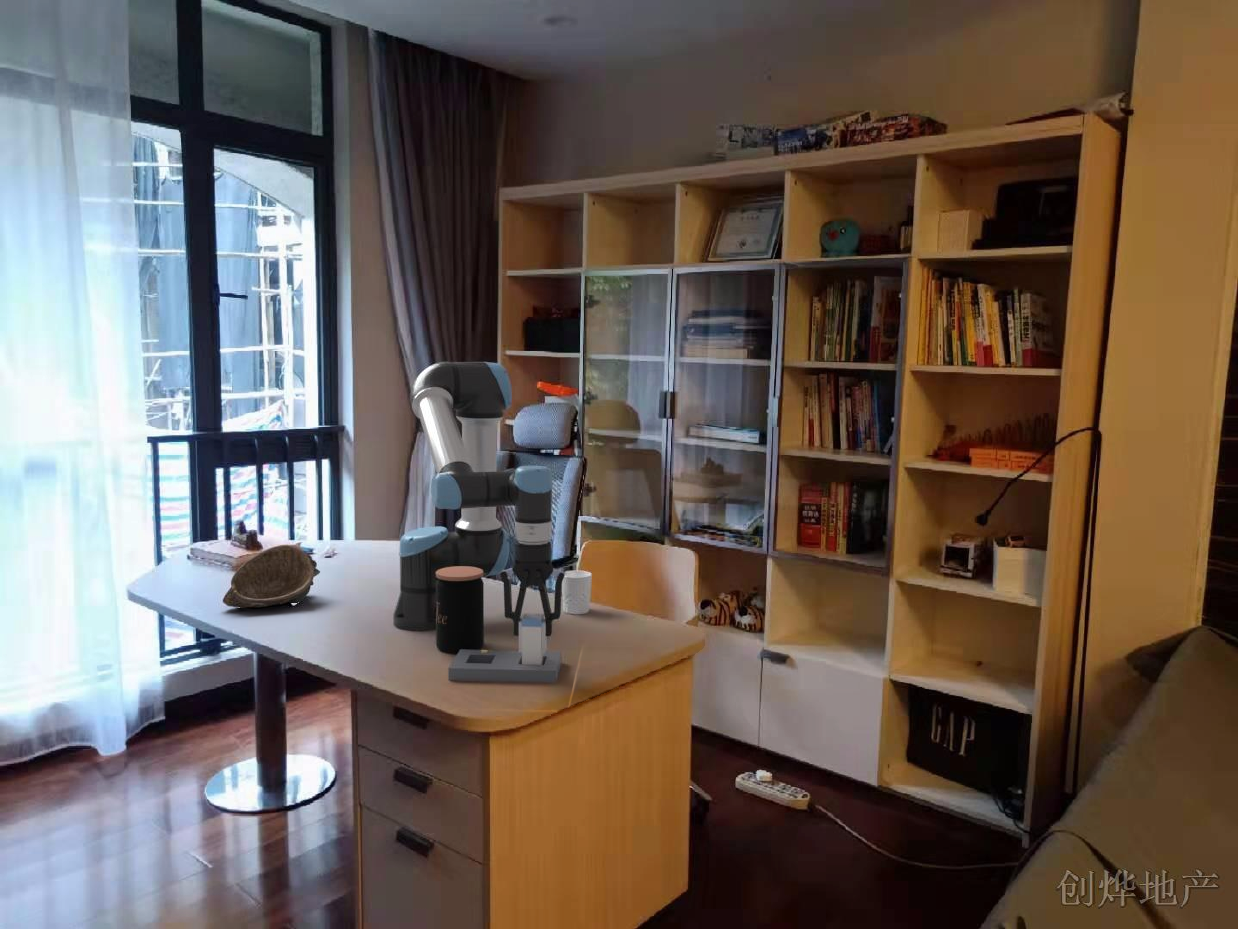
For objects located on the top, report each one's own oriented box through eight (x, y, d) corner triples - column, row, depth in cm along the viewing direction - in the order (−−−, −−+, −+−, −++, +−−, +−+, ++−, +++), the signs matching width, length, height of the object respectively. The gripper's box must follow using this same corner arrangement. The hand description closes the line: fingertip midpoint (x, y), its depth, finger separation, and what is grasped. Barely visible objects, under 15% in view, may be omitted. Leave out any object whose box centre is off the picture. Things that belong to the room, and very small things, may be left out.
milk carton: (521, 670, 190) (521, 619, 189) (524, 663, 194) (524, 613, 193) (541, 671, 190) (541, 619, 188) (543, 664, 194) (543, 613, 193)
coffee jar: (438, 641, 213) (438, 566, 211) (485, 641, 214) (484, 565, 212) (433, 656, 202) (432, 577, 200) (482, 656, 203) (481, 576, 201)
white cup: (587, 616, 235) (587, 578, 234) (557, 614, 237) (558, 576, 236) (594, 608, 243) (594, 571, 242) (565, 606, 245) (565, 569, 244)
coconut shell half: (234, 621, 228) (330, 581, 240) (209, 569, 233) (305, 533, 245) (237, 643, 240) (328, 603, 252) (214, 593, 245) (305, 557, 257)
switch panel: (448, 682, 187) (448, 666, 186) (460, 662, 198) (460, 648, 198) (555, 685, 186) (556, 669, 186) (561, 665, 198) (561, 650, 197)
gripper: (488, 543, 185) (488, 655, 188) (573, 545, 185) (572, 657, 188) (494, 536, 193) (494, 644, 195) (576, 538, 192) (574, 646, 195)
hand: (532, 650), depth 191 cm, fingers closed on milk carton, 4 cm apart
